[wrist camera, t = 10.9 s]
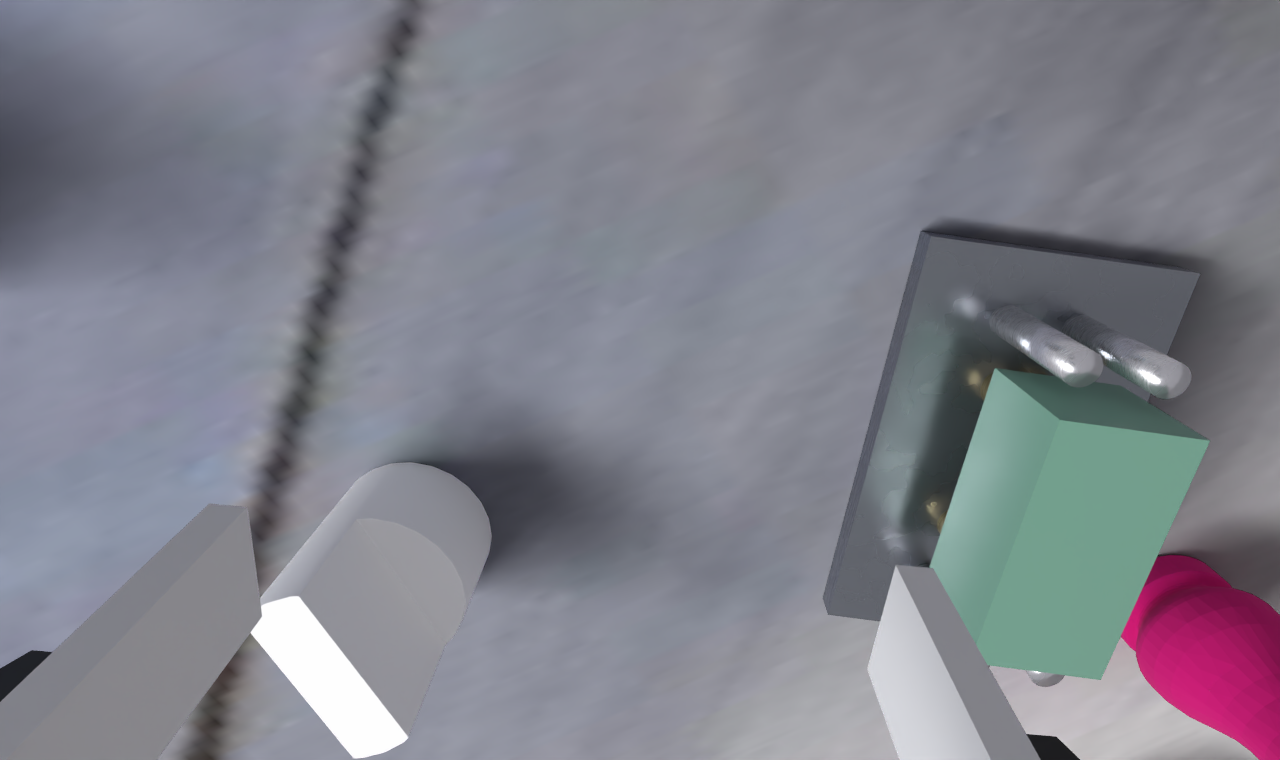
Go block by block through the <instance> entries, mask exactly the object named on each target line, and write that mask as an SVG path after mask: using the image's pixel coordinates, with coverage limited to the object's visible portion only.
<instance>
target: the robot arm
mask: <svg viewBox="0 0 1280 760" xmlns="http://www.w3.org/2000/svg"><path fill="white" fill-rule="evenodd" d="M261 617H262V611H261V603H260V596H259V589H258V581H257V574H256V566H255V559H254V552H253V544H252V537H251V529H250V522H249V515H248V507H242V506H231V505H219V504H208V505H207V506H206V507H205V508H204V509H203V510H202V511H201V512H200V513H199V514H198V515H197V516H196V517H194V518H193V519H192V520H191V521H190V522H189V523H188V524H187V525H186V526H185V527H184V528H183V529H182V530H181V531H180V532H179V533H178V534H177V535H176V536H174V537H173V538H172V539H171V540H170V541H169V542H168V543H167V544H166V545H165V546H164V547H163V548H162V549H161V550H160V551H159V552H158V553H157V554H156V555H154V556H153V557H152V558H151V559H150V560H149V561H148V562H147V563H146V564H145V565H144V566H143V567H142V568H141V569H140V570H139V571H138V572H137V573H136V574H134V575H133V576H132V577H131V578H130V579H129V580H128V581H127V582H126V583H125V584H124V585H123V586H122V587H121V588H120V589H119V590H118V591H117V592H115V593H114V594H113V595H112V596H111V597H110V598H109V599H108V600H107V601H106V602H105V603H104V604H103V605H102V606H101V607H100V608H99V609H98V610H97V611H95V612H94V613H93V614H92V615H91V616H90V617H89V618H88V619H87V620H86V621H85V622H84V623H83V624H82V625H81V626H80V627H79V628H78V629H77V630H75V631H74V632H73V633H72V634H71V635H70V636H69V637H68V638H67V639H66V640H65V641H64V642H63V643H62V644H61V645H60V646H59V647H58V648H57V649H55V650H54V651H53V652H44V651H33V650H32V651H30V652H28V653H26V654H25V655H23V656H21V657H19V658H18V659H16V660H14V661H13V662H11V663H9V664H7V665H6V666H4V667H2V668H0V760H157V759H158V758H159V756H160V755H161V754H162V752H163V751H164V750H165V748H166V747H167V745H168V744H169V743H170V741H171V740H172V739H173V737H174V736H175V735H176V733H177V732H178V730H179V729H180V728H181V726H182V725H183V724H184V722H185V721H186V720H187V718H188V717H189V715H190V714H191V713H192V711H193V710H194V709H195V707H196V706H197V705H198V703H199V702H200V700H201V699H202V698H203V696H204V695H205V694H206V692H207V691H208V690H209V688H210V687H211V686H212V684H213V683H214V681H215V680H216V679H217V677H218V676H219V675H220V673H221V672H222V671H223V669H224V668H225V666H226V665H227V664H228V662H229V661H230V660H231V658H232V657H233V656H234V654H235V653H236V651H237V650H238V649H239V647H240V646H241V645H242V643H243V642H244V641H245V639H246V638H247V636H248V635H249V634H250V632H251V631H252V630H253V628H254V627H255V626H256V624H257V623H258V621H259V620H260V619H261ZM867 670H868V672H869V675H870V678H871V681H872V684H873V687H874V689H875V692H876V695H877V698H878V701H879V703H880V706H881V709H882V712H883V715H884V718H885V720H886V723H887V726H888V729H889V732H890V734H891V737H892V740H893V743H894V746H895V749H896V751H897V754H898V757H899V760H1080V759H1079V758H1078V757H1077V756H1076V755H1075V754H1074V753H1073V752H1072V751H1071V750H1069V749H1068V748H1067V747H1066V746H1065V745H1064V744H1063V743H1062V742H1061V741H1060V740H1059V739H1058V738H1057V737H1053V736H1041V735H1030V734H1026V733H1025V731H1024V729H1023V727H1022V726H1021V724H1020V722H1019V720H1018V718H1017V717H1016V715H1015V713H1014V711H1013V710H1012V708H1011V706H1010V704H1009V702H1008V701H1007V699H1006V697H1005V695H1004V694H1003V692H1002V690H1001V688H1000V686H999V685H998V683H997V681H996V679H995V678H994V676H993V674H992V672H991V670H990V669H989V667H988V665H987V663H986V662H985V660H984V658H983V656H982V654H981V653H980V651H979V649H978V647H977V645H976V644H975V642H974V640H973V638H972V637H971V635H970V633H969V631H968V629H967V628H966V626H965V624H964V622H963V621H962V619H961V617H960V615H959V613H958V612H957V610H956V608H955V606H954V605H953V603H952V601H951V599H950V597H949V596H948V594H947V592H946V590H945V589H944V587H943V585H942V583H941V581H940V580H939V578H938V576H937V574H936V573H935V571H934V569H933V568H925V567H914V566H903V565H896V566H895V569H894V573H893V577H892V580H891V584H890V588H889V591H888V595H887V599H886V602H885V606H884V610H883V613H882V617H881V621H880V624H879V628H878V632H877V635H876V639H875V643H874V646H873V650H872V654H871V657H870V661H869V665H868V668H867Z"/></svg>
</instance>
